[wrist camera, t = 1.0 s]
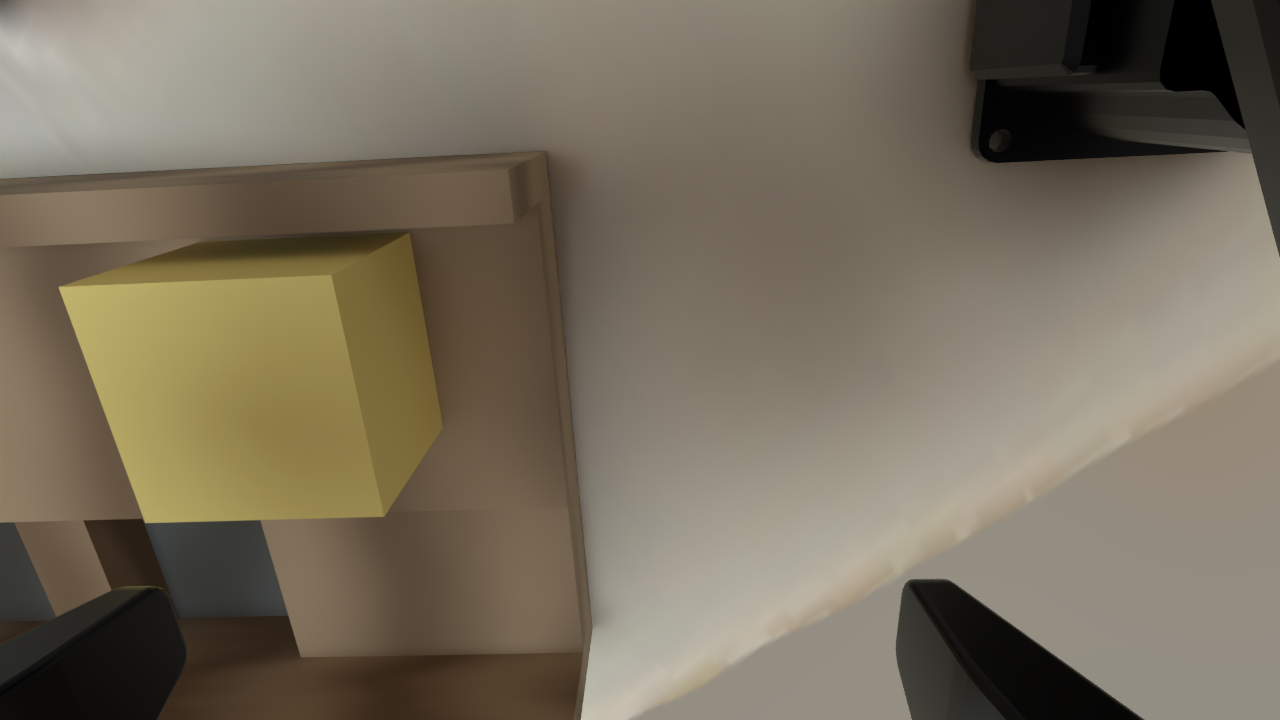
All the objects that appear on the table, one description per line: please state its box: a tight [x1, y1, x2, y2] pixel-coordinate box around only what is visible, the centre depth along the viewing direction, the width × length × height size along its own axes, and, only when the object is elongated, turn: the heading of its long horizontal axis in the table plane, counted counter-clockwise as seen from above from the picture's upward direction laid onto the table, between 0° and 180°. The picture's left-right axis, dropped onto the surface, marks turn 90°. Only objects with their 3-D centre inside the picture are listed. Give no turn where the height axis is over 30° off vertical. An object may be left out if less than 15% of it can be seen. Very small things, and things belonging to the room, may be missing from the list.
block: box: [59, 232, 443, 523], centre depth 15 cm, size 5×5×4 cm
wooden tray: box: [0, 151, 592, 720], centre depth 18 cm, size 23×15×5 cm, turn 93°
